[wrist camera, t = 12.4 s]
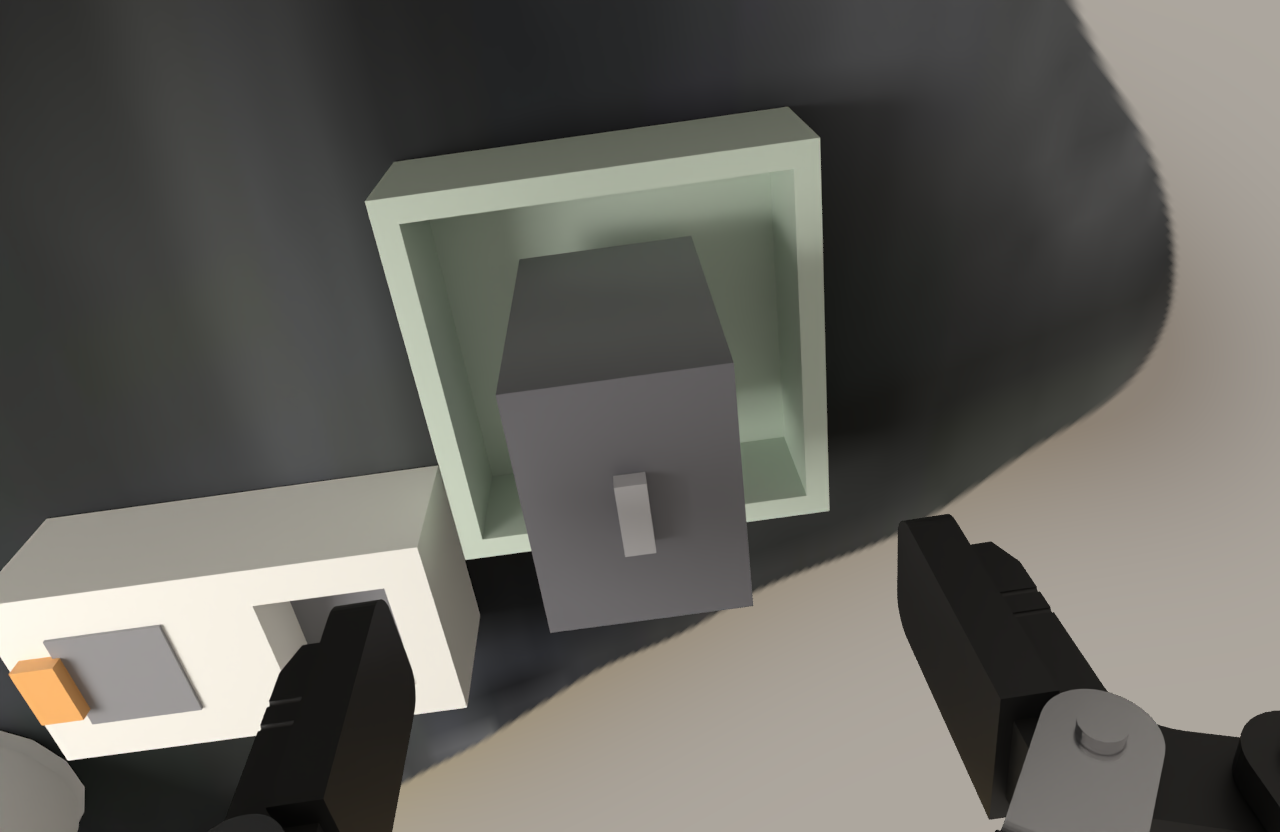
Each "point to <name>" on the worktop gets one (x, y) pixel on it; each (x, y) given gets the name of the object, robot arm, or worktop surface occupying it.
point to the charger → (625, 435)
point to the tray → (605, 217)
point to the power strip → (227, 606)
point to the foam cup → (37, 788)
